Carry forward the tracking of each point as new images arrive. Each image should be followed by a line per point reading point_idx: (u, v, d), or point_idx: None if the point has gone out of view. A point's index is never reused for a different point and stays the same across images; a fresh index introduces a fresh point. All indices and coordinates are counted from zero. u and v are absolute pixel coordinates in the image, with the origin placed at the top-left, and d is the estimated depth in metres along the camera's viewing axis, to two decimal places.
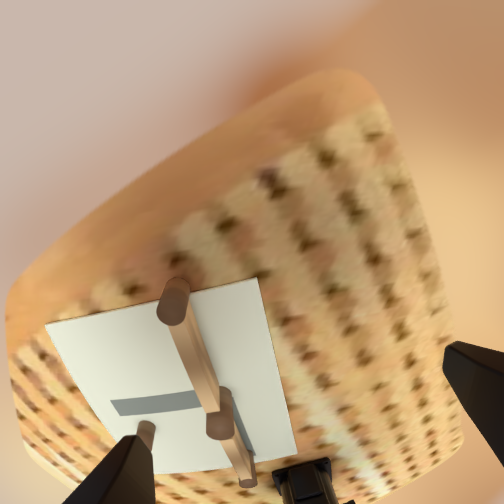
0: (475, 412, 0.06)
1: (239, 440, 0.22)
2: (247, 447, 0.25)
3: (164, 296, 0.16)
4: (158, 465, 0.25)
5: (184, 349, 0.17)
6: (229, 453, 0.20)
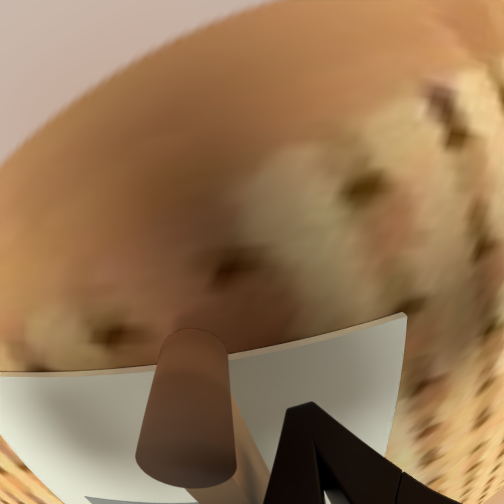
0: (322, 484, 0.05)
1: None
2: None
3: (156, 413, 0.04)
4: None
5: None
6: None
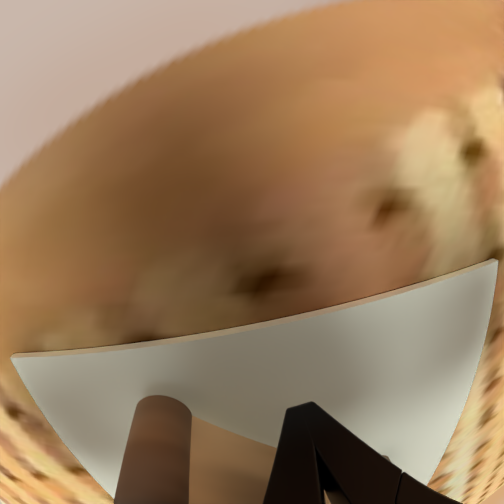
0: (322, 484, 0.05)
1: None
2: None
3: (118, 481, 0.05)
4: None
5: None
6: None
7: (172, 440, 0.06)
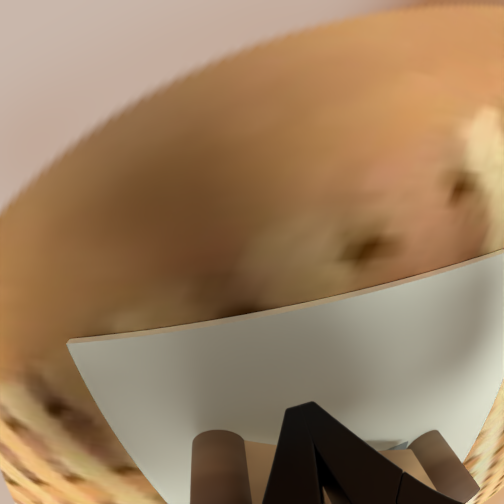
0: (323, 484, 0.05)
1: None
2: None
3: None
4: None
5: None
6: None
7: (230, 469, 0.06)
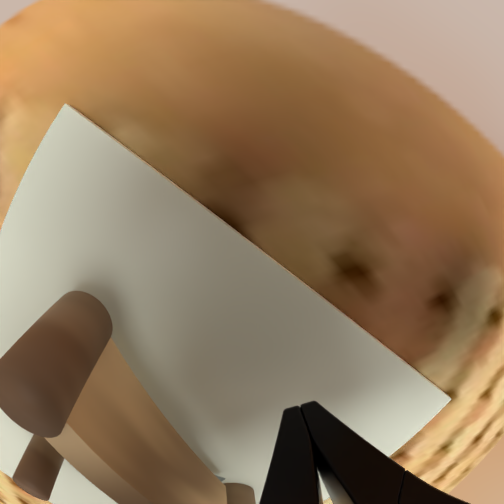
0: (325, 483, 0.05)
1: None
2: None
3: (6, 352, 0.04)
4: (4, 464, 0.09)
5: (106, 482, 0.04)
6: None
7: (85, 344, 0.05)
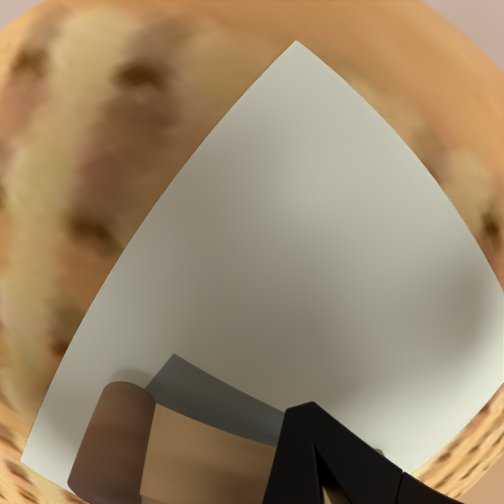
0: (323, 484, 0.05)
1: None
2: None
3: None
4: None
5: None
6: None
7: (127, 425, 0.06)
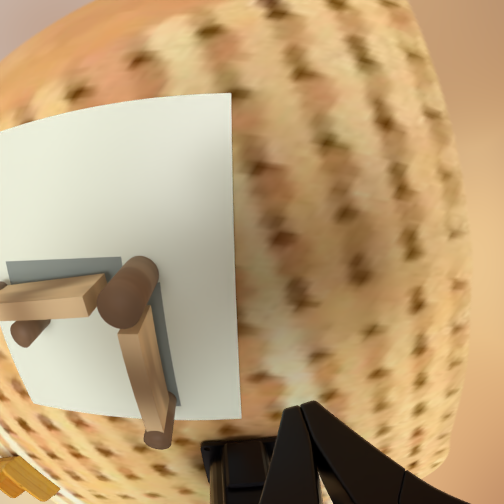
0: (325, 483, 0.05)
1: (154, 358, 0.15)
2: (169, 387, 0.18)
3: None
4: (51, 392, 0.17)
5: (4, 313, 0.11)
6: (130, 368, 0.13)
7: None
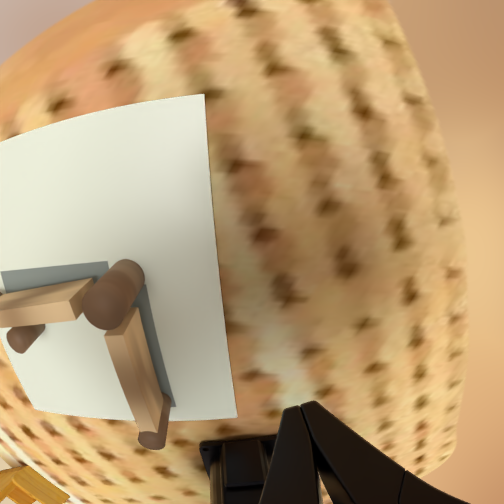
0: (325, 483, 0.05)
1: (144, 359, 0.15)
2: (163, 388, 0.18)
3: None
4: (51, 398, 0.17)
5: None
6: (118, 369, 0.13)
7: None
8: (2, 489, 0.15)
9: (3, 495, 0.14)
